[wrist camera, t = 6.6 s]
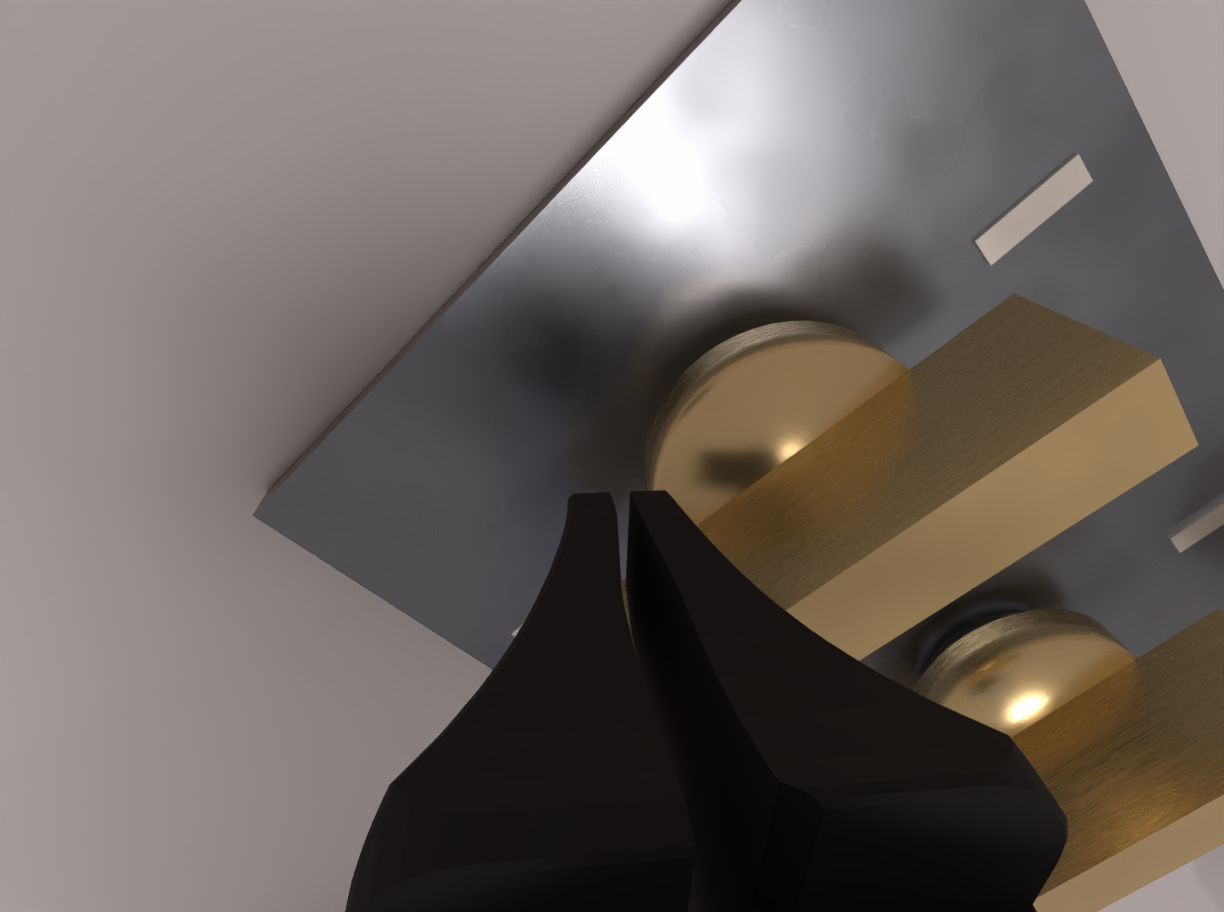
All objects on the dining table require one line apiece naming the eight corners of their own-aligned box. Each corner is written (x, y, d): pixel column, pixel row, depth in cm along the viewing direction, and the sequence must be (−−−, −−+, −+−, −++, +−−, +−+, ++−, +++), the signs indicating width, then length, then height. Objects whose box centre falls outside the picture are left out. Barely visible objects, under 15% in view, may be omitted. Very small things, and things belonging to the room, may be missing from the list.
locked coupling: (1216, 643, 20) (1417, 808, 15) (918, 826, 22) (1016, 1014, 18) (1132, 521, 17) (1342, 676, 13) (809, 741, 20) (891, 934, 16)
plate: (801, 846, 26) (819, 896, 24) (266, 492, 17) (240, 535, 15) (1310, 522, 21) (1374, 558, 19) (936, -217, 12) (998, -260, 10)
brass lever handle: (1040, 405, 16) (1249, 539, 11) (681, 651, 18) (733, 845, 13) (915, 184, 13) (1120, 241, 9) (516, 504, 15) (512, 681, 11)
